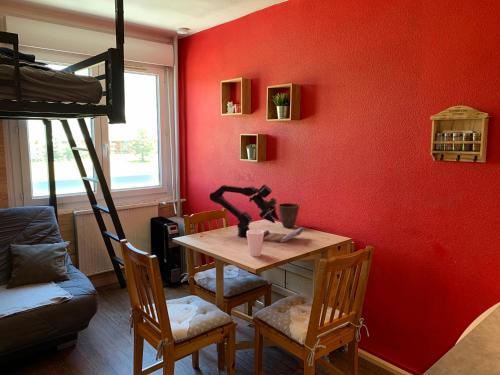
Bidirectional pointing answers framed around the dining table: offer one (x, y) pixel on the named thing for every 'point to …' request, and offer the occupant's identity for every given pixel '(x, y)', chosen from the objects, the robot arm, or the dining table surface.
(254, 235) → the foam cup
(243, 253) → the dining table surface
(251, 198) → the robot arm
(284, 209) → the plant pot
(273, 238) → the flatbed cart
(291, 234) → the tailgate
